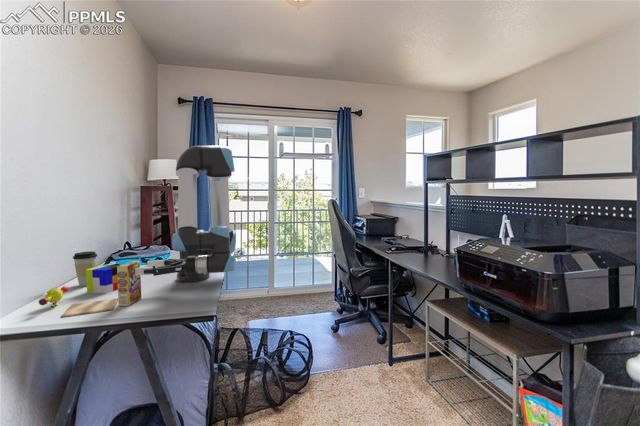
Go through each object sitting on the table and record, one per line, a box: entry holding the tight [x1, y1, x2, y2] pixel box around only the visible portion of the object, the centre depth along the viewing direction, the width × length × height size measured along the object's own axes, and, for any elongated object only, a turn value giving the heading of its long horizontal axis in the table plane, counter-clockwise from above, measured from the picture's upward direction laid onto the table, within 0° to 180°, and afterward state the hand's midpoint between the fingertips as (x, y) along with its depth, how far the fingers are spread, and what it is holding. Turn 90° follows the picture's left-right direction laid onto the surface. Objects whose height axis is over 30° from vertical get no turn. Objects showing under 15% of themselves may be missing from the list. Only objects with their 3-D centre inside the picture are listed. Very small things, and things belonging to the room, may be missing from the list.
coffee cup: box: [72, 250, 98, 287], centre depth 152 cm, size 9×9×15 cm
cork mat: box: [61, 297, 118, 318], centre depth 120 cm, size 15×13×1 cm
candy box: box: [117, 260, 143, 307], centre depth 125 cm, size 9×4×15 cm, turn 0°
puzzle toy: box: [86, 264, 121, 294], centre depth 144 cm, size 10×10×10 cm
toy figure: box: [38, 286, 69, 308], centre depth 122 cm, size 18×6×7 cm, turn 16°
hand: (141, 267), depth 131 cm, fingers open, 13 cm apart
